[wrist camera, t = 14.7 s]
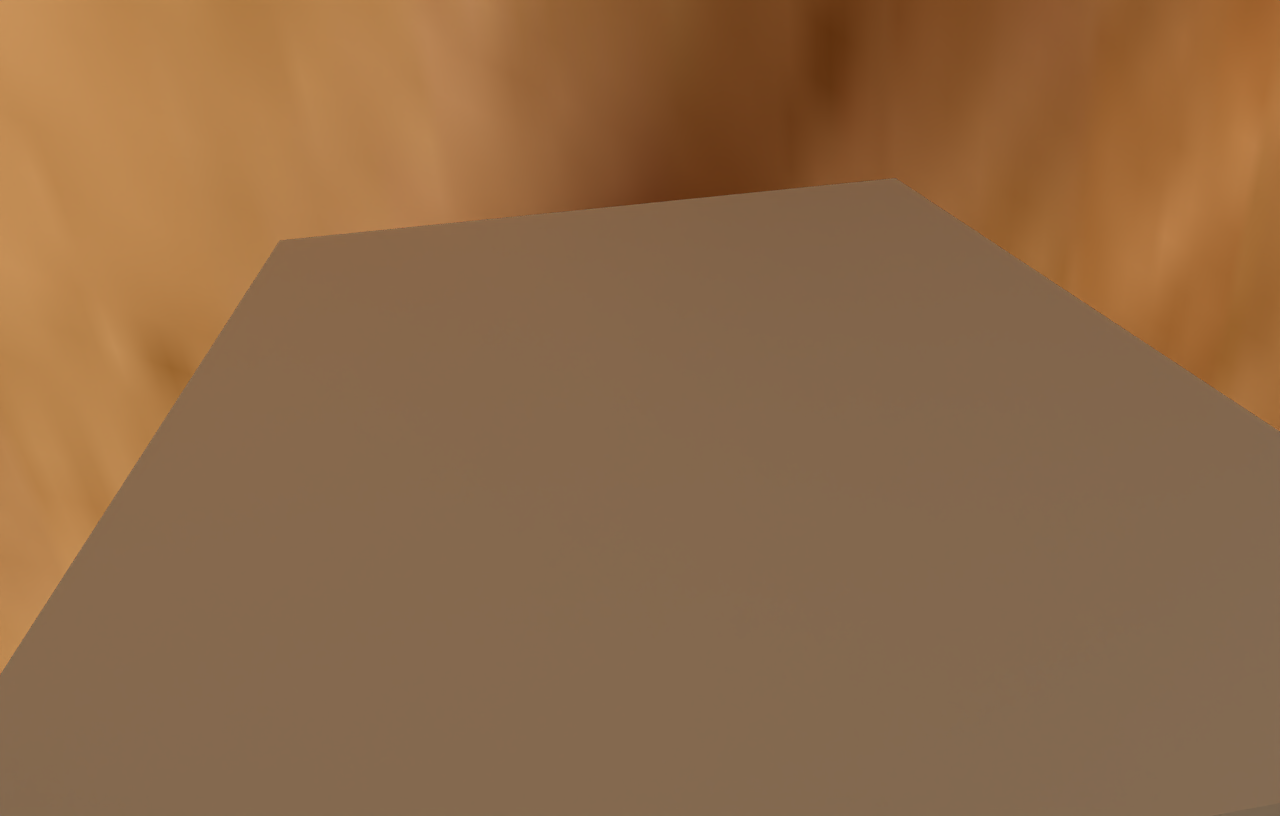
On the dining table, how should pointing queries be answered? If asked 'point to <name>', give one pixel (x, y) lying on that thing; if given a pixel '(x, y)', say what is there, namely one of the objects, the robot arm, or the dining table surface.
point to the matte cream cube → (669, 540)
